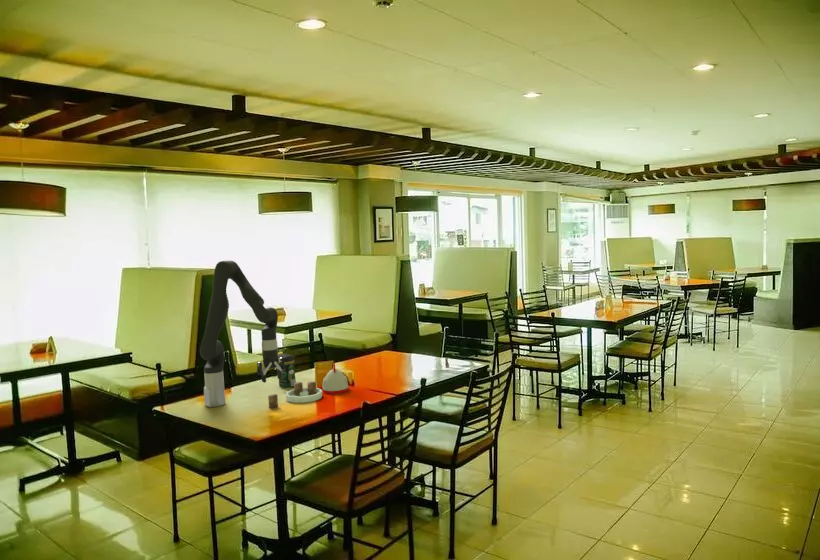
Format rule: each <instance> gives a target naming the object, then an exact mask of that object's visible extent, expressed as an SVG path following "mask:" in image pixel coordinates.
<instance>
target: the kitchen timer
mask: <svg viewBox="0 0 820 560" xmlns="http://www.w3.org/2000/svg"><path fill="white" fill-rule="evenodd" d="M332 366H333V368H332V369H331V370H329V371H328V372H327V373H326V376H324V377H323V380H322V389H321V390H322V394H328V395H337V394H338V393H339V394H342V393H346V392H348V391H349V383H348V379H347V376H345V374H344V373H343V372H342V371H341V370H339V369H337V368H336V363H335V362H333V363H332Z"/></svg>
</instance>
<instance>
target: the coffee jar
mask: <svg viewBox="0 0 820 560" xmlns="http://www.w3.org/2000/svg"><path fill="white" fill-rule="evenodd" d="M280 357H282V358H284V364H285V369H283V370H282V377H281V379H278V386H279V387H281V388H285V389H289V388H294V383H296V382H297V381H296V379H297V378H296V371H295V356H294V355H293V354H288V353H280V354H278V358H280ZM278 365H279V366H280V362H278Z"/></svg>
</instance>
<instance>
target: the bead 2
mask: <svg viewBox="0 0 820 560" xmlns="http://www.w3.org/2000/svg"><path fill="white" fill-rule="evenodd" d="M307 387H308V395H314V394H316V388H317V382H316V381H309V382H307Z"/></svg>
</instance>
